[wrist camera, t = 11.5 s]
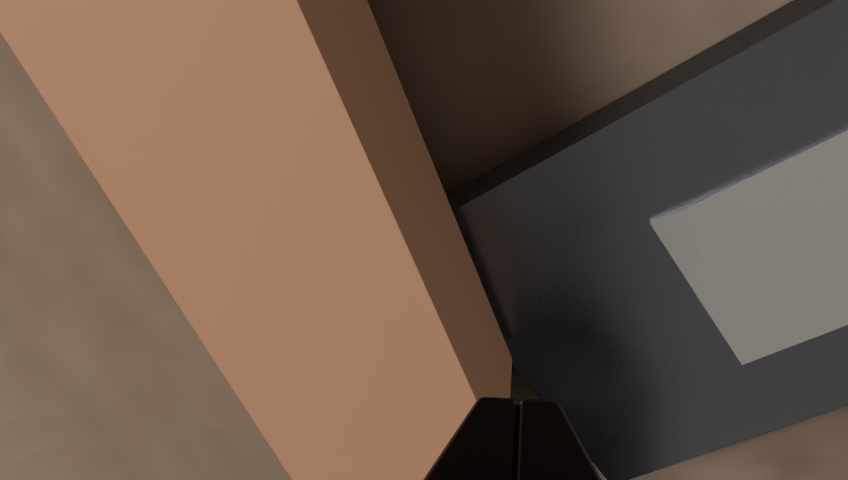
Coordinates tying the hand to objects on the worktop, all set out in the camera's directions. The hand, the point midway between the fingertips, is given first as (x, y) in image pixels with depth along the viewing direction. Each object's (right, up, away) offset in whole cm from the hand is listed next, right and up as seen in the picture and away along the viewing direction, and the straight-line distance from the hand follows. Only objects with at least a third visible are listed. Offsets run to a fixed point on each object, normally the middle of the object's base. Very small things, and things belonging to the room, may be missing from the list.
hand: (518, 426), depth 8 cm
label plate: (+7, +2, +10) cm, 13 cm away
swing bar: (-3, +3, +11) cm, 12 cm away
